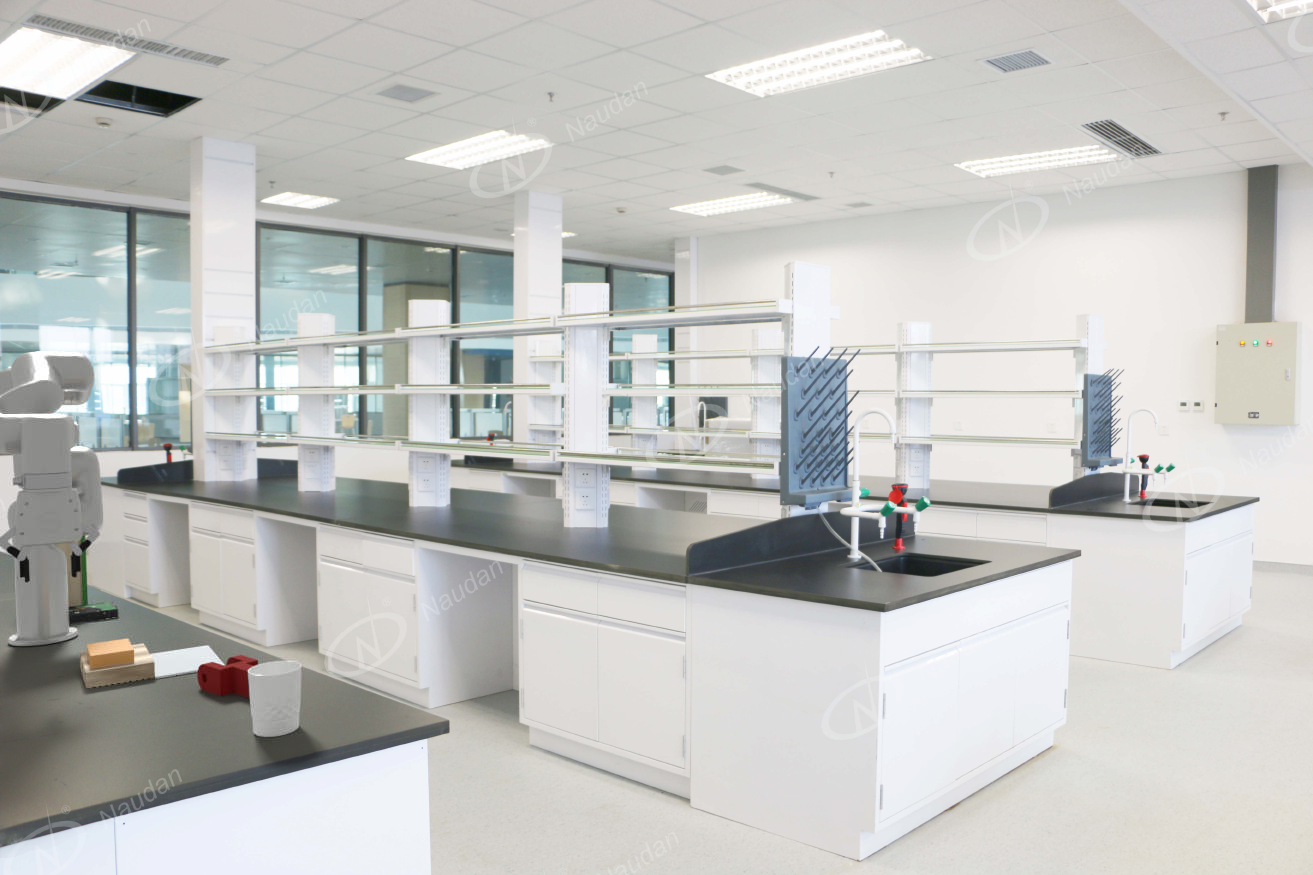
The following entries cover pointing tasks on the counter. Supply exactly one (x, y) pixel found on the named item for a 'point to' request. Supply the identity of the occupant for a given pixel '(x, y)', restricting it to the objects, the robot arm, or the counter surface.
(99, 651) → the slab
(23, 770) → the counter surface
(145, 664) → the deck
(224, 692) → the mechanical linkage
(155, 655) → the mat
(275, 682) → the white cup
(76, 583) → the hardback book
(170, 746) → the counter surface
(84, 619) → the disk drive
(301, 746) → the counter surface
